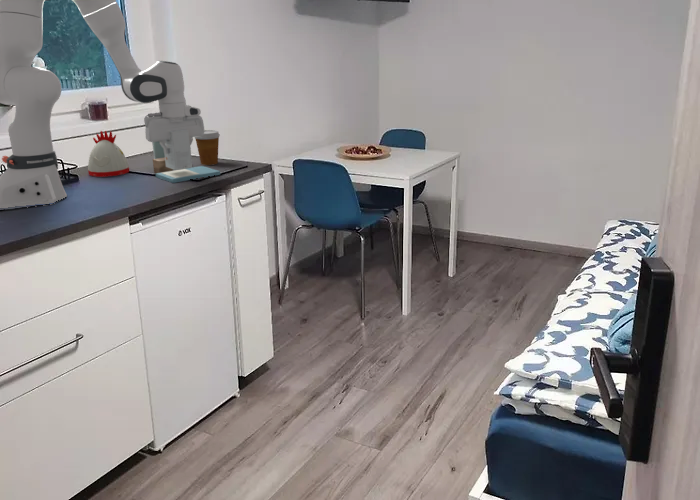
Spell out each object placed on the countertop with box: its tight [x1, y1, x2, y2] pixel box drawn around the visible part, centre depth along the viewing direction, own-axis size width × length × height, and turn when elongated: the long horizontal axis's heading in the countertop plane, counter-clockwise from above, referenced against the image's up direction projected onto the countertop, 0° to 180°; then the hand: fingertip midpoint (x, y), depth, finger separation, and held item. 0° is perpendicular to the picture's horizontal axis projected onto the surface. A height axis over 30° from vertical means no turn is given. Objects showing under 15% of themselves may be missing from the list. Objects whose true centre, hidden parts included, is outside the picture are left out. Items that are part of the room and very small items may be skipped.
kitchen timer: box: [87, 130, 130, 178], centre depth 227 cm, size 14×14×15 cm
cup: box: [151, 141, 165, 159], centre depth 237 cm, size 8×8×10 cm
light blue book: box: [155, 165, 221, 184], centre depth 222 cm, size 18×13×1 cm
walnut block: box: [152, 158, 174, 174], centre depth 227 cm, size 5×5×5 cm
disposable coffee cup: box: [194, 129, 221, 166], centre depth 240 cm, size 10×10×12 cm
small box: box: [165, 130, 193, 171], centre depth 217 cm, size 8×6×13 cm
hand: (177, 152), depth 217 cm, fingers closed on small box, 6 cm apart
